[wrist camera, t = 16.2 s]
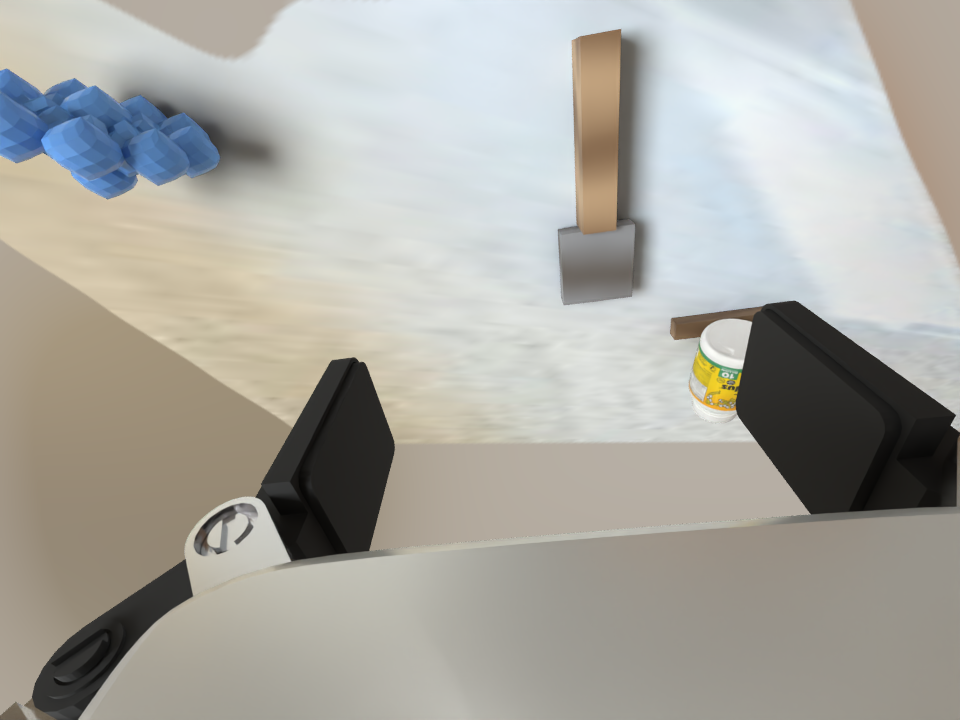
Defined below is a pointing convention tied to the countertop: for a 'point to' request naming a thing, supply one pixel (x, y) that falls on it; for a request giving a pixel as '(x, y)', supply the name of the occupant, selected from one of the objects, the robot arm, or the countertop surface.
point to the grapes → (100, 135)
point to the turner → (596, 180)
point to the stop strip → (706, 322)
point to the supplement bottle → (719, 369)
